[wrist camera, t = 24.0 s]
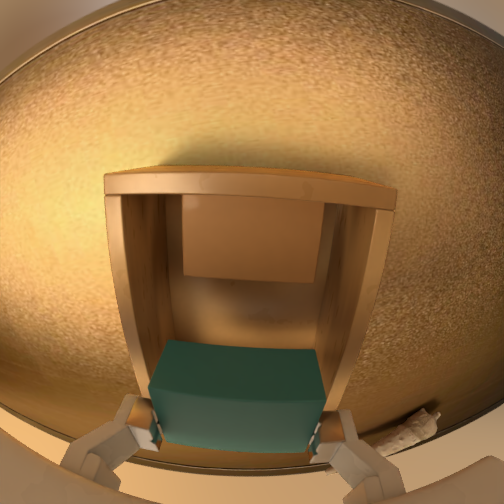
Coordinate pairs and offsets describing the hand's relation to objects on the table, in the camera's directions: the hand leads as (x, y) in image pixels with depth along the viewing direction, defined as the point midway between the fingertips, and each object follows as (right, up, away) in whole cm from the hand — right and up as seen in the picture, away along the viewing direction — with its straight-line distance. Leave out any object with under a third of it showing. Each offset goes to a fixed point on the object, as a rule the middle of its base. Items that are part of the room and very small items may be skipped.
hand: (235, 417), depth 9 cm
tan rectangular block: (+1, +8, +5) cm, 9 cm away
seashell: (+14, -12, +12) cm, 22 cm away
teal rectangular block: (0, +1, +2) cm, 2 cm away
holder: (0, +5, +7) cm, 8 cm away
